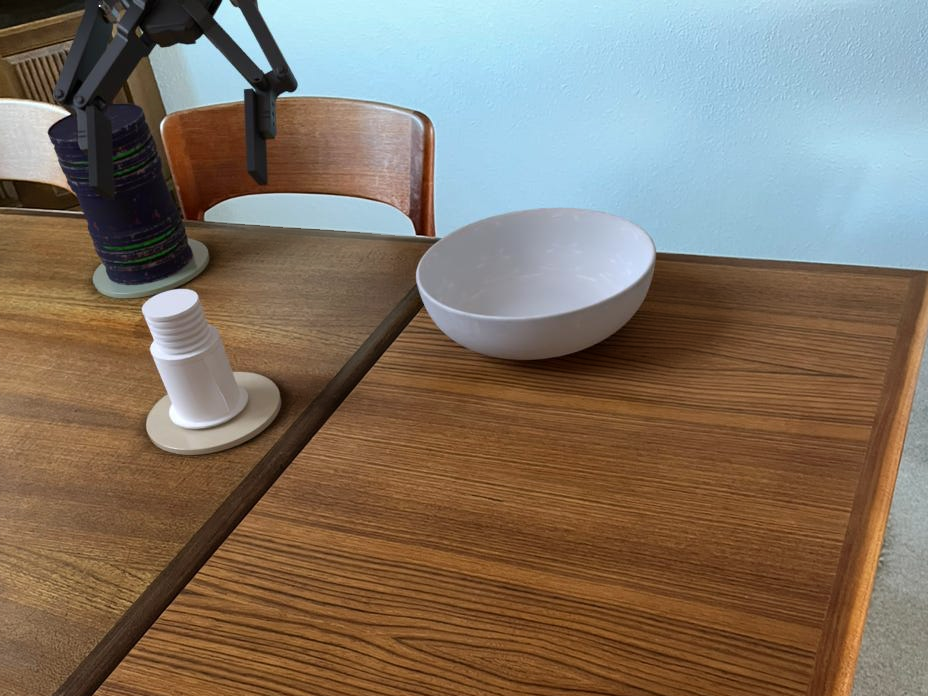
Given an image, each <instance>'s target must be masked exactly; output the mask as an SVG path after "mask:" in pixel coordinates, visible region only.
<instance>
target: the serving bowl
mask: <svg viewBox="0 0 928 696" xmlns="http://www.w3.org/2000/svg"><path fill="white" fill-rule="evenodd" d="M656 261H657V248H656V244H655V241H654V240H653V238H652V237H651V236H650V234H649V233H648V232H646V231H645V229H644V228H642V227H641V226H639V225H638V224H636V223H634V222H632V221H630V220H628V219H626V218H623V217H620V216H619V215H615V214H612V213H609V212H608V213H607V212H605V211H604V212H603V211H600V210H599V211H598V210H593V209H586V208H575V207H541V208H532V209H531V208H530V209H522V210H516V211H510V212H506V213H501V214H497V215H493V216H489V217H485V218H482V219H479V220H477V221H473V222H472V223H471V222H470V223H469V224H466V225H464V226H462V227H459V228H457V229H455V230H454V231H452V232H449V233H448V234H446V235H445V236H444V237H442V238H440V239H439V240H437V242H436V241H435V243H434V244H432V245H431V246H430V247H429V248H428V250H426V252H425V253H424V254H423V255H422V257H421V258H420V260H419V262H418V265H417V266H416V267H417V268H416V272H415V281H416V285H417V290H418V292H419V295H420V298H421V301H422V304H424V308H425V309H426V312H427V314H428V315H429V317H430V318H431V320H432V322H433V323H434V324H435V325H436V326H437V328H438V329H440V331H441V332H442V333H444V334H445V335H446V336H447V337H448V338H449V339H451V340H452V341H454V342H455V343H456V344H458V345H460V346H462V347H464V348H466V349H468V350H470V351H473V352H475V353H478V354H482V355H483V356H484V355H485V356H487V357H493V358H499V359H504V360H515V361H516V360H517V361H531V360H545V359H551V358H557V357H562V356H566V355H570V354H573V353H574V354H575V353H576V352H580V351H583V350H585V349H588V348H590V347H592V346H594V345H596V344H598V343H601V342H602V341H604V340H605V339H607V338H609V337H611V336H613V334H615V333H616V332H618V331H619V330H620V329H621V328H623V327H624V326H625V325H626V324H627V323H628V322H629V321H630V320H631V319H632V317H634V315H635V314H636V313H637V311H639V308H640V307H641V305H642V304H643V302H644V301H645V299H646V296H647V294H648V293H649V289H650V286H651V283H652V280H653V276H654V272H655V266H656Z"/></svg>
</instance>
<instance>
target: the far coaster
mask: <svg viewBox="0 0 928 696" xmlns="http://www.w3.org/2000/svg"><path fill="white" fill-rule="evenodd" d="M188 245H190V247H191V249H192V252H193V258H192V260H191V262H190V263H189V264H188V265H187V266H186V267H185V268H184V269H182V270H181V271H179V272H178V273H176V274H174V275H172V276H170V277H167V278H165V279H162V280H159V281H156V282H152V283H147V284H142V285H121V284H117V283H114V282H112V281H111V280H110V279H109V278H108V275H107V273H106V267H105V266H104V265H103V263H102V262H101V263H100V264H99V265H98V267H97V268H96V269H95V270H94V273H93V275H92V282H93V285H94V287H95V289H96V290H97V291H98V293H100V294H102V295H104V296H106V297H110V298H116V299H136V298H137V299H138V298H145V297H150V296H156V295H158V294H160V293H163V292H166V291H170V290H174V289H177V288H178V287H180V286H182V285H185V284H186V283H188V282H191V280H193V279H195V278H196V277H197V276H199V275H200V274H201V273H202V272H203V271H204V270H205V269H206V267H208V264H209V262H210V253H209V249H208V247H207V246H206V244H204V243H203V242H202V241H199V240H196V239H193V238H188Z"/></svg>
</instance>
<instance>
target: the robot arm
mask: <svg viewBox="0 0 928 696" xmlns="http://www.w3.org/2000/svg"><path fill="white" fill-rule="evenodd" d="M229 2H230V3H231V5H232V6H233V7H234V8H238V9H239V10H240V12H241V14H242V16H243V17H244V19H245V21H246V23H247V25H248V27H249V29H250V30H251V32H252V34H253V36H254V38H255V40H256V42H257V43H258V45H259V48H260V49H261V51H262V53H263V55H264V56H265V58H266V60H267V63H268V64H269V66H270V68H271V70H270V71H267V72H266V73H265V72H264V70H263V69H261V68H260V67H259V66H258V65H257V64H256V63H255V62H254V60H252V59H251V57H250V56H249V55H248V54H247V53H246V52H245V51H244V50H243V48H241V47H240V45H239V44H238V43H237V42H236V41H235V40H234V39H233V38H232V37H231V36H230V34H229V33H228V32H227V31H226V30H225V29H224V28H223V27H222V26H221V25H220V24H219V22H218V21H217V20H216V19H215V18H214V17H215V15H216V13H217V12H218V11H219V8H220V7H221V5H222V3H223V0H84V12H83V15H82V17H81V19H80V22H79V24H78V27H77V30H76V33H75V35H74V38H73V40H72V43H71V46H70V48H69V51H68V53H67V56H66V58H65V61H64V64H63V66H62V68H61V70H60V74H59V76H58V78H57V80H56V81H57V82H56V84H55V87H54V89H53V91H52V92H53V93H52V97H53V99H54V101H56V103H58V104H59V105H60V106H61V107H62V108H63V109H64V110H66V111H67V112H68V113H69V115H70V114H72V115H73V116H77V122H78V144H79V146H80V149H81V150H82V151H83V152H84V153H85V154H86V155H88V165H89V187H90V188H92V189H93V190H94V191H95V192H97V193H98V194H99V195H100V196H102V197H103V198H104V199H105V200H115V194H114V171H113V147H112V124H111V121H110V120H109V119H108V118H107V117H106V116H105V115H104V113H105V112H106V110H107V109H108V107H109V106H110V105H111V104H113V101H114V100H115V99H116V97H117V96H118V94H119V93H120V91H121V90H122V88H123V87H124V86H125V84H126V83H127V81H128V80H129V78H130V77H131V75H132V74H133V72H134V70H135V69H136V68H137V66H138V65H139V63H140V62H141V60H142V59H143V58H148V57H149V56H150V54H151V53H152V52H153V50H154V48H155V47H157V45H158V46H159V47H160V48H161V49H163V48H170V47H172V46H176V45H178V44H181V45H189V46H190V45H196V44H197V40H199V39H200V38H202V36H204V37H205V38H206V39H207V40H208V41H209V42H210V43H211V45H212V46H214V47H215V48H216V50H218V51H219V52H220V53H221V55H223V57H224V58H225V59H226V60H227V61H228V63H230V64H231V66H233V68H234V69H235V70H236V71H237V72H238V73H239V74H240V75H241V76H242V78H243V79H244V80H245V81H246V82H247V83H248V84H249V85H250V86H251V87H252V88H243V101H244V102H243V104H244V107H243V108H244V132H245V157H246V161H245V162H246V172H247V174H248V175H249V176H250V177H251V178H252V179H253V180H254V182H255V183H256V184H257V185H258V186H259V187H262V186H269V181H268V152H267V141H268V140H276V136H277V134H278V133H277V132H278V130H277V129H278V127H277V105H276V104H277V99H278V98H279V96H281V95H283V94H285V93H286V92H287V93H288V94H289V93H290V94H293V93H294V92H296V91H297V89H298V88H299V83H298V80H297V78H296V77H295V75H294V73H293V71H292V68H291V67H290V66H289V63H288V61H287V60H286V58H285V56H284V54H283V52H282V50H281V48H280V47H279V45H278V43H277V42H276V39H275V37H274V35H273V34H272V32H271V30H270V28H269V26H268V24H267V23H266V21H265V19H264V17H263V15H262V13H261V11H260V9H259V3H258V0H229ZM122 11H125V12H124V13H123V15H122V17H121V18H119V15H120V13H121V12H122ZM114 25H116V34H115V35H114V37H113V38H112V34H113V30H114ZM138 28H139V29H140V31H141V32H142V33H141V35H140V36H138V34H137V29H138ZM111 38H112V40H111ZM110 40H111V41H110Z"/></svg>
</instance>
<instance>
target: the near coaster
mask: <svg viewBox="0 0 928 696" xmlns="http://www.w3.org/2000/svg"><path fill="white" fill-rule="evenodd" d="M232 372H233V374H234V377H235V380H236V383H237V384H239V385H241V386H242V387H244V388H245V389H246V391H247V394H248V402H247V404H246V406H245V407H244V409H243V410H242V411H241V412H240V413H239V414H237V415H236V416H234V417H233V418H231V419H230V420H228V421H226V422H223V423H221V424H218V425H215V426H212V427H207V428H200V429H189V428H183V427H180V426H178V425H176V424H175V423H173V422H172V420H171V418H170V416H169V410H170V407H171V405H172V402H171V400H170V397H169V395H168V393H166V394H165V395H164V396H162V397H161V398H160V399H159V400H158V401H157V402H156V403H155V404H154V406H153V407H152V408H151V410H150V411H149V413H148V415H147V418H146V421H145V428H146V432H147V435H148V437H149V439H150V441H151V442H152V443H153V444H154V445H155V446H156V447H157V448H159V449H161V450H162V451H165V452H168V453H171V454H175V455H182V456H183V455H184V456H197V455H199V456H200V455H207V454H215V453H218V452H222V451H225V450H229V449H231V448H234V447H237V446H240V445H241V444H244V443H246V442H247V441H249V440H251V439H253V438H255V437H256V436H257V435H259V434H260V433H262V432H263V431H265V430H266V429H267V428H268V427H269V426H270V425H271V424H272V423H273V422H274V421H275V419H276V418H277V416H278V415H279V413H280V411H281V407H282V396H281V392H280V390H279V388H278V386H277V385H276V383H275V382H274V381H272V379H270V378H268V377H267V376H264V375H262V374H258V373H255V372H250V371H249V372H248V371H232Z"/></svg>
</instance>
